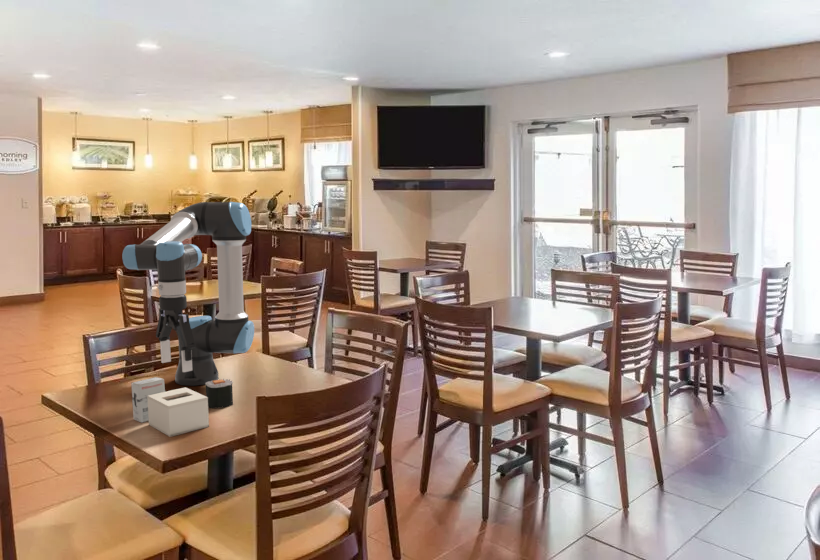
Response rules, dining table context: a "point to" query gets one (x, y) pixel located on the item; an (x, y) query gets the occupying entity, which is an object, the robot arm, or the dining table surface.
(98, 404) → the dining table surface
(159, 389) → the ink box
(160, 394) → the tissue box
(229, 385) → the sushi
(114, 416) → the dining table surface
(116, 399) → the dining table surface
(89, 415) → the dining table surface
